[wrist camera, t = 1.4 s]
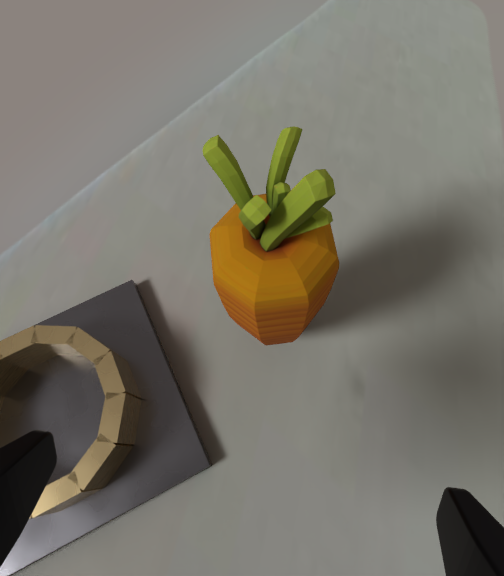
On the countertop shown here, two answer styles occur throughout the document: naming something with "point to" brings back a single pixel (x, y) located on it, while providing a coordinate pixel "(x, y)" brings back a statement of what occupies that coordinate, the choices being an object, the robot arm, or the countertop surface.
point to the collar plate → (95, 417)
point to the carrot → (273, 244)
